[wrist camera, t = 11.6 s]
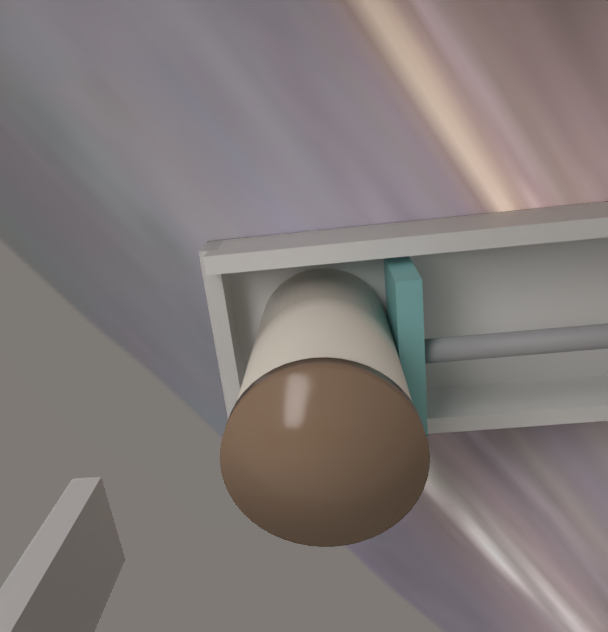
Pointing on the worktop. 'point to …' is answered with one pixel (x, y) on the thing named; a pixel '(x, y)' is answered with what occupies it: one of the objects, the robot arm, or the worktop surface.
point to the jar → (324, 418)
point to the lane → (448, 304)
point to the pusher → (418, 351)
